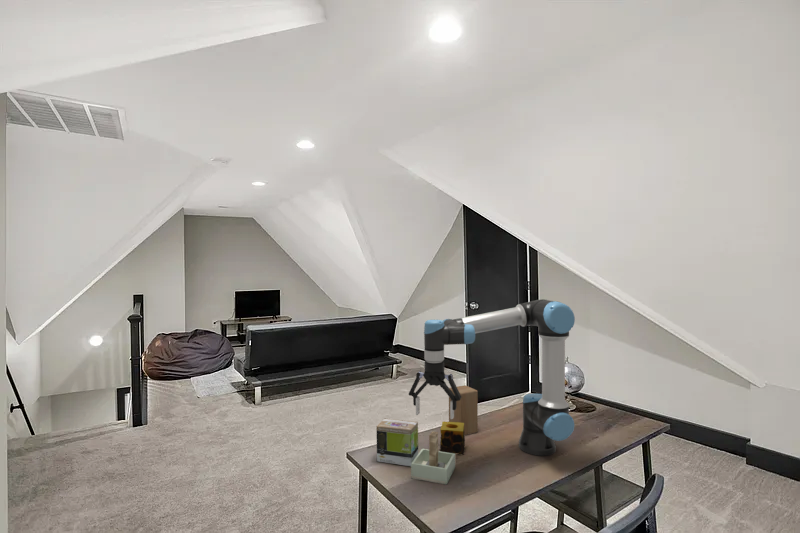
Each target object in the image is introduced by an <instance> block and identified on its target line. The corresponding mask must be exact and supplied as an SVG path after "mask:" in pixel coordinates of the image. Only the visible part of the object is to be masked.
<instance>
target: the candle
mask: <svg viewBox="0 0 800 533" xmlns="http://www.w3.org/2000/svg"><path fill="white" fill-rule="evenodd" d="M441 422H442V423H441V427H440V428H439V429H440V442H439V443H440V445H439V449H440V450H439V451H441V452H447V453H454V454H455V455H456V454H457V455H465V449H466V448H465V446H466V444H465V443H466V442H465V441H466V435H464V423H459V422H449V421H441Z"/></svg>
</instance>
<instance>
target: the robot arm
mask: <svg viewBox="0 0 800 533" xmlns="http://www.w3.org/2000/svg"><path fill="white" fill-rule="evenodd" d="M575 319H576V318H575V314H574V311H573V310H572V308H571V307H570V306H569V305H568V304H566V303H563V302H560V301H556V300H549V299H536V300H531V301H527V302H523V303H519V304H517V305H516V306H515V307H510V308H505V309H501V310H495V311H489V312H485V313H480V314H479V313H478V314H475V315H474V314H473V315H470V316H464V317H460V318H454V319H453V318H446V319H426V321H424V327H423V329H424V330H423V331H424V332H423V336H424V337H423V339H424V342H423V343H424V359H423V360H424V372H422V371H421V370H420V371H418V372H416V375H415V379H414V382H413V384H412V385H411V387H410V390H409V391H408V395H409V396H410V397H412V399H413V400H412V401H413V406H414V407H415V415H416V416H418V415H419V414H420V413H421V410H420V408H421V406H420V405H421V404H420V403H421V399H420V398H421V397H420V396H418V395H419V394H420V393H421V392H422V391H423V390H424V388H426V387H427V385H429V386H436V387H438V386H440V388H442V390H443V391H444V392H445V393H446V395H447V396H448V398H449V397H450V399H451V402H450V419H453V418H454V410H456V408H457V401H459V400H460V399H461V395H460V393H459V391H458V389H457V387H458V386H457V384H456V383H455V380H454V376H453V374H452V373H449V374H446V372H445V361H444V360H445V346H446V345H469V344H470V345H471V344H473V343H474V342H475V341H476V334H479V333H480V334H481V333H484V332H490V331H495V330H500V329H505V328H510V327H511V328H512V327H516V326H521V327H528V326H531V327H532V326H534V327H538V328H537V329H538V330H537V332H538V337H540V338H541V360H542V361H541V393H528V394H525V395H524V396H523V398H522V431H521V434H520V436H519V439H518V440H519V441H518V448H519V449H520V451H522V452H524V453H526V454H528V455H529V454H530V455H534V456H541V457H542V456H550V455H553V454H555V453H556V451H557V447H556V443H555V441H556V442H560V441H561V442H562V441H564V440H567V439H568V438H569V437H570V436H571V435H572V434H573V432H574V430H575V420H574V419H573V417H572V416H571V415H570V405H569V403H568V402H567V401H566V378H565V377H566V376H565V375H566V369H565V368H566V340H567V339H568V338H569V337H570V331H572V330H571V329H572V328H573V327H574V325H575V321H576V320H575ZM423 378H424V380H425V381H424V382H423V383H422V384H421V386H420V387H419V388H418V389H417V386H418V384H419V382H420V380H421V379H423ZM445 380H446V381H448V384H449V385H447V382H445ZM449 386H450V387H449ZM449 388H452V390H453V392H454V394H455V395H454V394H453V392H452V391H451V390H450V389H449ZM416 389H417V390H416ZM415 391H416V392H415Z"/></svg>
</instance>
